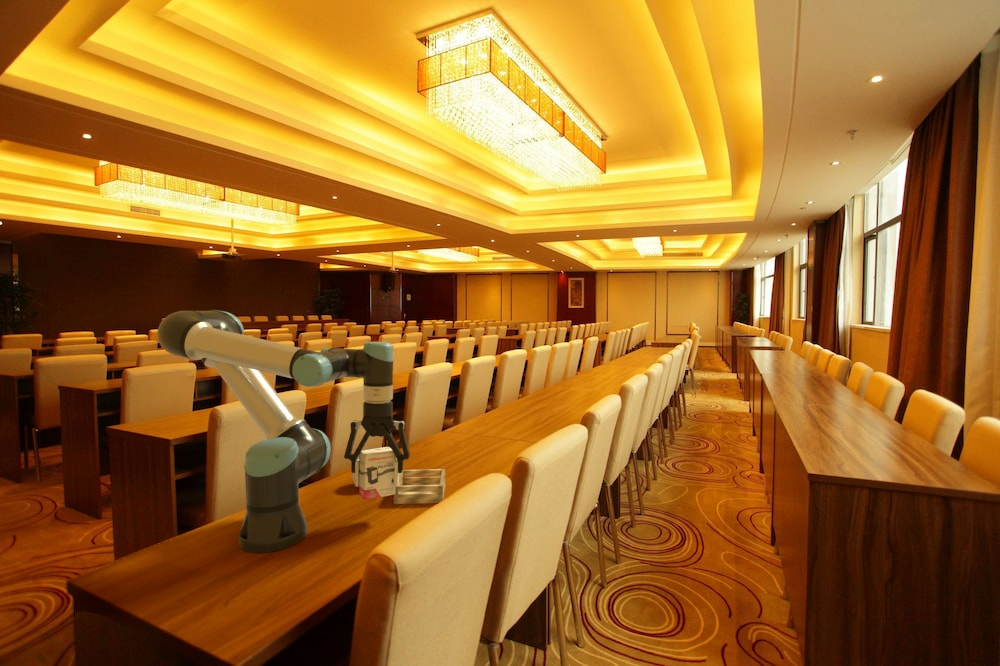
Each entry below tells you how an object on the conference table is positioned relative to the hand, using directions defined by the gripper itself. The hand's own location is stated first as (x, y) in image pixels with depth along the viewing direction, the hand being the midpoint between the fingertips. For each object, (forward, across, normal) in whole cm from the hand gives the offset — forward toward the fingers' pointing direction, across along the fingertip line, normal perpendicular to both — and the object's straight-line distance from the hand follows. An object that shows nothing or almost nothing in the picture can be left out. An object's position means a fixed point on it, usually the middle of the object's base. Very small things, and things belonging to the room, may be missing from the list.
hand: (377, 484), depth 131 cm
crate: (+9, +10, +18) cm, 22 cm away
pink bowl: (+10, -7, +27) cm, 30 cm away
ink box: (+3, 0, 0) cm, 3 cm away
